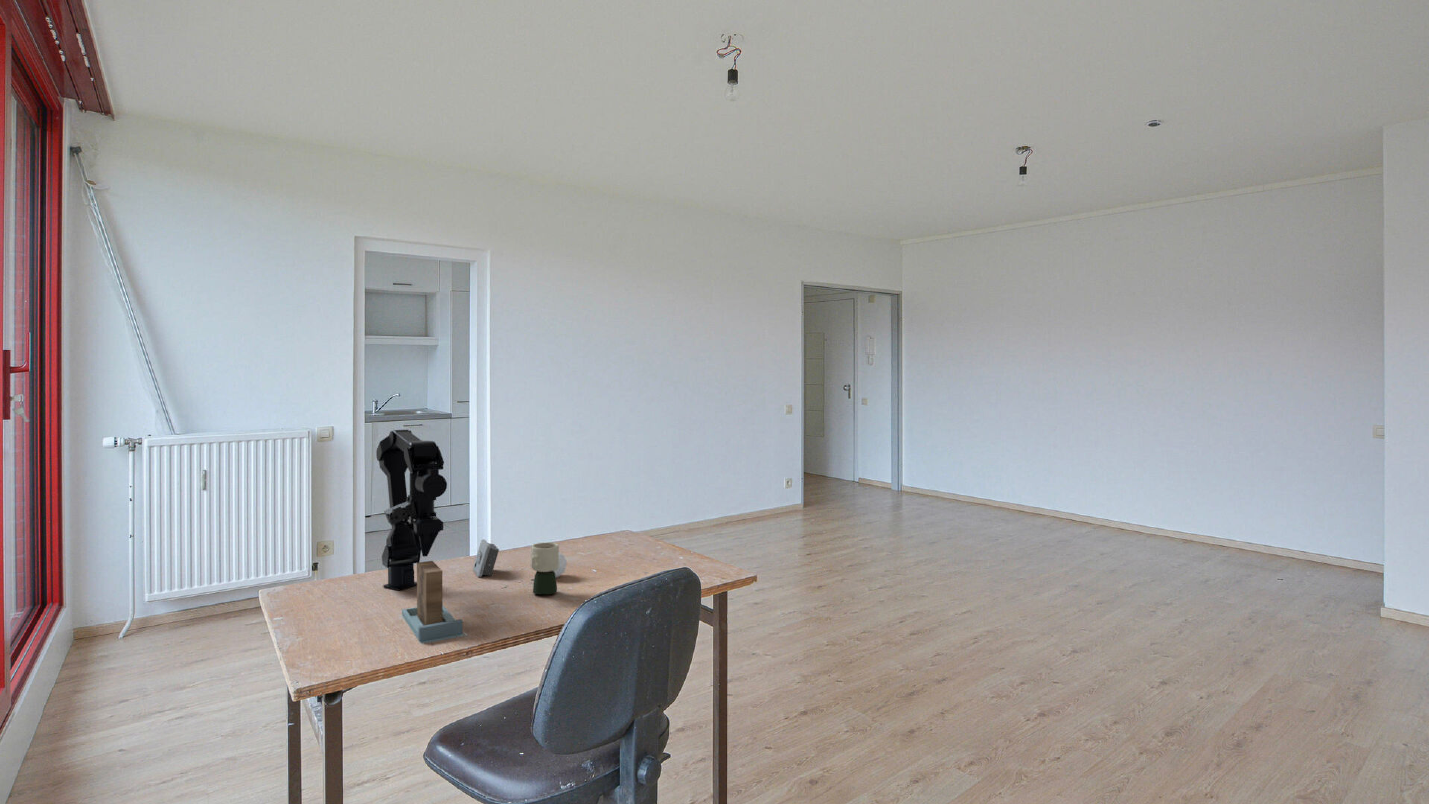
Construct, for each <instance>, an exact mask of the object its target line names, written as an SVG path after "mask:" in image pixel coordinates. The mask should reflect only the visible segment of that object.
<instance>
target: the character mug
mask: <svg viewBox="0 0 1429 804" xmlns="http://www.w3.org/2000/svg"><path fill="white" fill-rule="evenodd" d="M559 547H560V546H559V544H558V543H556V542H550V541H549V542H538V543H537V542H536V543H534V544H532V545H531V554H530V556H531V563H530V567H531V569H532V570H533V571H536V572H535V574H534V579H533V585H532V586H533V587H532V593H533V594H535V595H536V594H537V595H541V596H543V595H551V594H552V595H553V594H555V593H557V592H558V585H557V583H558V582H557V578H556V576H555V572H554V570H556V569H558V566H559V551H560V550H559V549H560V548H559Z"/></svg>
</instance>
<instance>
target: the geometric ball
mask: <svg viewBox="0 0 1429 804" xmlns="http://www.w3.org/2000/svg"><path fill="white" fill-rule="evenodd" d="M567 564H568V563H567V559H566V557H565V555H564V554H563V553H561V552H559V566H558V569H556V570H554V572H555V576H556V579H558V578H559V577H561V575H562V574H564V573H565V571H566V567H567Z"/></svg>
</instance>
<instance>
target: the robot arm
mask: <svg viewBox="0 0 1429 804" xmlns="http://www.w3.org/2000/svg"><path fill="white" fill-rule="evenodd" d="M375 453H376V459H377V461H378V463H379V468H380V470H381V471H382V472H383V473H384V475H385V476H386V480H387V490H388V491H387V492H388V502H389V508H387V509H386V510H383V511H384V515H385V518H386V520H387V522H388V524H390V526H391V530H390V532H389V534H388V536H387V538H386V541H385V542H386V545H385V546H384V549H383V552H382V555H381V562H382V563H381V564H382V565H383V566H384V567H385V568H387V573H388V574H387V580H388V581H387V583H386V584H383V585H382V588H385V589H390V590H396V591H402V590H406V589H408V588H411V587H415V586H417V581H415V567H414V565H415V564H417V563H419V562H421V556H422V557H428V556H429V553H430V551H431V549H432V547H433V545H434V542H435V540H436V538H437V536H438V535H439V534H440V532H441V531H444V522H443V521H442V520H441V519H440V518H438V517H437V512H436V511H435V501H437V498H439V497H441V496H443V495H444V493H445V492H446V491H447V488H448V482H447V480H446V478H445V477H444V476H443V475H441V474H439V473H440V471H441V470H444V464H445V462H444V458H443V455H442V452H441V450H440V447H439V445H437V443H436V442H435V441H433V440H423V439H420V438H419V437H417V436H416V435H415V434H413V432H412V430H411V429H393V430H391V431H390V432H389V433H388V435H387V436H386V437H385V438H383V439H381V440H380V441H379V443H378V446H377V447H376V452H375ZM407 470H408V471H409V494H408V492H407V491H408V490H407V482H406V472H407Z"/></svg>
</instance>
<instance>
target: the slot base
mask: <svg viewBox="0 0 1429 804" xmlns="http://www.w3.org/2000/svg"><path fill="white" fill-rule="evenodd" d="M401 616H402V617H403V619H404V621H405V622H406V624H407V626H408V627H409V628H410V629H411V630H410V631H412V633H413V635H414V636H415V637H416V639H417V640H418V642H419V643H420V644H421V645H422V644H428V643H433V642H438V641H445V640H449V639H455V638H459V637H460V638H461V637H464V634H463V631H464V630H463V628H464V626H463V623H464V621H463V620H462V619H461V618H459V619H455V618H454V616H453V615H452V614H451V613H450V611H448V609H447V608H446V607H445V606H444V604H442V622H441V623H435V624H429V625H423V624H422V623H421V621H420V620H419V619H418V617H417V606H414V607H409V608H403V609H401Z"/></svg>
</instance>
